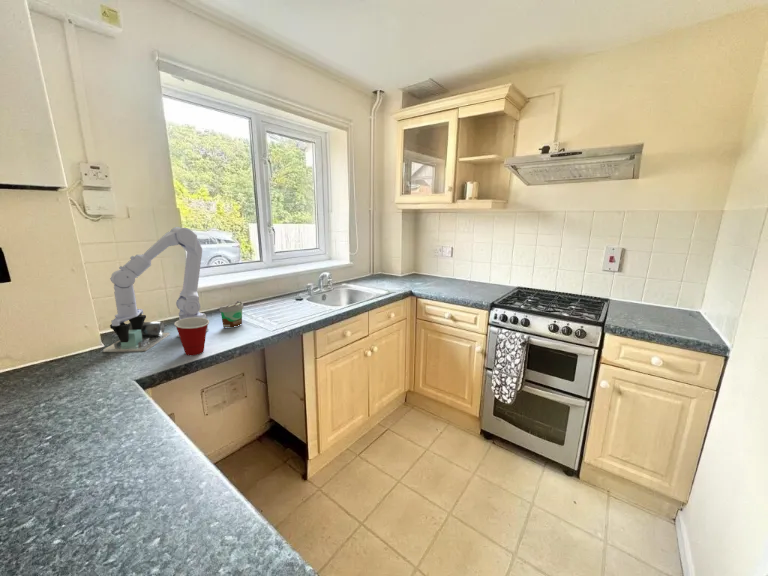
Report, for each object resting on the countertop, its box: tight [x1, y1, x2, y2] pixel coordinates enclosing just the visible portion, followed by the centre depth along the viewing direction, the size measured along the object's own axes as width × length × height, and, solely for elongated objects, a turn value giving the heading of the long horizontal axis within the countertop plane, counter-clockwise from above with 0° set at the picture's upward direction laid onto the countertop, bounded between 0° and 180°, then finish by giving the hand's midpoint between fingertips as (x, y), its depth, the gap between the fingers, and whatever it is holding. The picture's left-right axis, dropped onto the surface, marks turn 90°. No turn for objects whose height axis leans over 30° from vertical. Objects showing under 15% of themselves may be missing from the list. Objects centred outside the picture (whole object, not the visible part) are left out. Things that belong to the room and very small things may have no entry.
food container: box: [219, 300, 245, 328], centre depth 144 cm, size 12×6×10 cm, turn 168°
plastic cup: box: [174, 317, 210, 356], centre depth 114 cm, size 11×11×12 cm
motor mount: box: [102, 321, 171, 353], centre depth 122 cm, size 14×16×7 cm
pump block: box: [121, 330, 142, 346], centre depth 118 cm, size 5×4×5 cm
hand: (131, 338), depth 118 cm, fingers open, 7 cm apart
